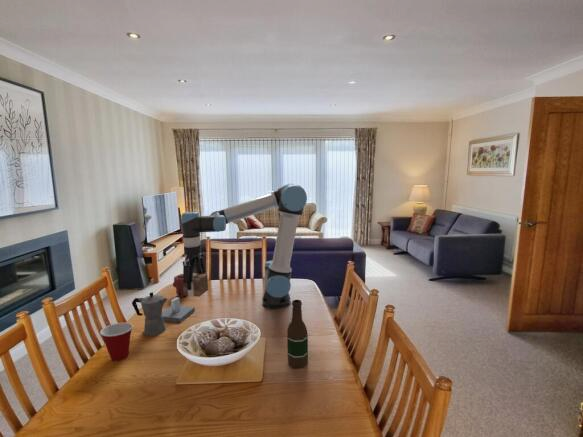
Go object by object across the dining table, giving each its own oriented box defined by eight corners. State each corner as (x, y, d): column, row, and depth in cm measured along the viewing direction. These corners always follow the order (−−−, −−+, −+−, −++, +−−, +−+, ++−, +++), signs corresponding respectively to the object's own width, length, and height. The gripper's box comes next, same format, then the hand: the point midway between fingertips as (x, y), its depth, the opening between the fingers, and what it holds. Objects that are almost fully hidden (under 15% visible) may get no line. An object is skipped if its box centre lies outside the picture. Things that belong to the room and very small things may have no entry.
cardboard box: (193, 288, 142) (192, 272, 141) (208, 289, 140) (206, 273, 139) (184, 295, 134) (182, 278, 133) (199, 296, 133) (197, 279, 131)
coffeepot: (173, 324, 135) (170, 288, 133) (165, 335, 126) (162, 296, 123) (140, 325, 135) (136, 289, 132) (129, 336, 125) (125, 297, 123)
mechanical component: (194, 291, 173) (188, 298, 163) (178, 291, 173) (170, 299, 163) (193, 272, 171) (186, 278, 161) (176, 272, 171) (169, 278, 161)
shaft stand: (194, 310, 149) (193, 295, 147) (180, 322, 137) (179, 305, 136) (172, 308, 152) (171, 293, 150) (157, 319, 140) (155, 303, 139)
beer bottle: (293, 372, 102) (292, 307, 98) (283, 359, 108) (282, 299, 105) (312, 365, 105) (311, 302, 101) (301, 353, 112) (301, 294, 108)
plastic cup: (142, 351, 115) (139, 322, 113) (118, 368, 105) (114, 337, 103) (121, 346, 119) (118, 318, 117) (96, 362, 109) (92, 332, 107)
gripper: (197, 240, 145) (201, 283, 148) (171, 251, 125) (175, 300, 128) (210, 240, 143) (214, 284, 146) (186, 251, 123) (191, 302, 126)
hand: (196, 291), depth 137 cm, fingers closed on cardboard box, 8 cm apart
